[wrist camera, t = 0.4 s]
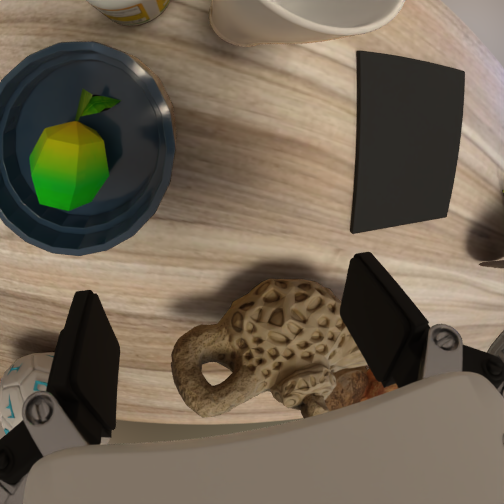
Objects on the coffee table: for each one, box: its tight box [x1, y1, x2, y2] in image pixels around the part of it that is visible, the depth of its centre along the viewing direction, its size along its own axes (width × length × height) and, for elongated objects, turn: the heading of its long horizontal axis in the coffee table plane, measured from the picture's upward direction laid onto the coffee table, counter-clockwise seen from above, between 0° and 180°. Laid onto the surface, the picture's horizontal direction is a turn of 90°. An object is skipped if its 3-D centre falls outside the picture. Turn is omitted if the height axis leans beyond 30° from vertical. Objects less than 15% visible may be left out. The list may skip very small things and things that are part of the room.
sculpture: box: [324, 366, 398, 412], centre depth 39 cm, size 15×16×15 cm
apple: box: [29, 89, 121, 211], centre depth 18 cm, size 7×6×9 cm
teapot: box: [171, 279, 368, 418], centre depth 27 cm, size 21×12×15 cm, turn 86°
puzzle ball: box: [0, 352, 112, 445], centre depth 27 cm, size 15×15×15 cm
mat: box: [350, 51, 465, 234], centre depth 27 cm, size 18×14×1 cm
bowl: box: [0, 41, 177, 256], centre depth 19 cm, size 15×15×5 cm
